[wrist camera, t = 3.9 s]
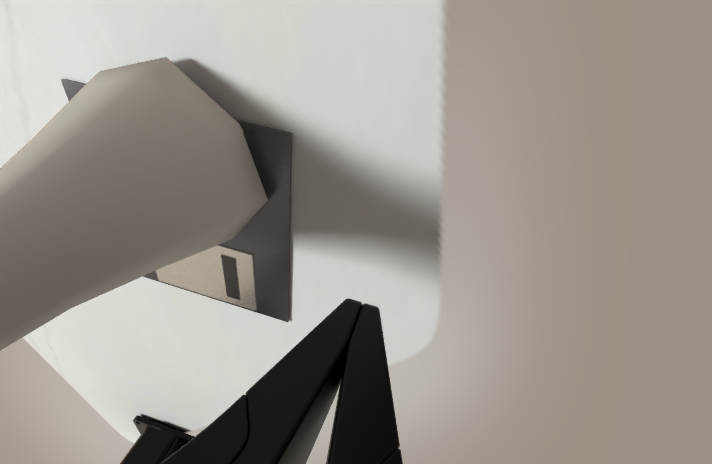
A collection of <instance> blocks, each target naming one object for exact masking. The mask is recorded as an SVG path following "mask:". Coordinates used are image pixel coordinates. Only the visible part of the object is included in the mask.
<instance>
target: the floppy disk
mask: <svg viewBox="0 0 712 464" xmlns="http://www.w3.org/2000/svg"><path fill="white" fill-rule="evenodd" d="M61 81H62V84H63V86H64V89H65V92H66V94H67V97H68V100H69V101H70V100H71V99H72V98H73V97H74V96H75V95H76V94H77V93H78V92H79V91H80V90H81V89H82V88H83V87H84V86H85V85H86V84H82V83H78V82H74V81H70V80H65V79H61ZM236 121H237V122H238V123H239V124H240V126H241V129H242V131H243V134H244V137H245V139H246V142H247V145H248V148H249V150H250V153H251V156H252V158H253V161H254V164H255V167H256V169H257V172H258V175H259V177H260V180H261V183H262V185H263V188H264V191H265V194H266V196H267V199H268V201H267V202H266V203H265V204H264V205H263V206H262V208H261V209H260V210H259V211H258V212H257V213H256V214H255V215H254V216H253V217H252V219H251V220H250V221H249V222H248V223H247V224H246V225H245V226H244V227H243V228H242V230H241V231H240V232H239V233H238V234H237V235H236V236H235V237H234V238H233V239H230V240H228V241H226V242H224V243H221V244H219V245H217V246H214V247H212V248H209V249H207V250H204V251H202V252H199V253H197V254H195V255H192V256H190V257H187V258H185V259H182V260H180V261H177V262H175V263H172V264H170V265H167V266H165V267H162V268H160V269H158V270H155V271H153V272H151V273H149V274H146V275H144V276H143V277H146V278H149V279H153V280H156V281H159V282H162V283H165V284H168V285H172V286H175V287H178V288H181V289H184V290H188V291H191V292H194V293H197V294H200V295H203V296H207V297H210V298H213V299H216V300H219V301H222V302H226V303H229V304H232V305H235V306H238V307H242V308H245V309H248V310H251V311H254V312H257V313H261V314H264V315H267V316H270V317H273V318H276V319H280V320H283V321H286V322H288V321H289V259H290V185H291V133H289V132H284V131H280V130H276V129H272V128H268V127H263V126H259V125H255V124H251V123H247V122H242V121H238V120H236Z"/></svg>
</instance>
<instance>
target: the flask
mask: <svg viewBox="0 0 712 464" xmlns="http://www.w3.org/2000/svg"><path fill="white" fill-rule="evenodd" d="M267 201H268V199H267V196H266V194H265V191H264V188H263V185H262V183H261V180H260V177H259V175H258V172H257V169H256V167H255V164H254V161H253V158H252V156H251V153H250V150H249V148H248V145H247V142H246V139H245V137H244V134H243V131H242V129H241V126H240V124H239V123H238V122H237V121H236V120H235V119H233V118H232V117H231V116H230V115H229V114H228V113H227V112H226V111H225V110H224V109H222V108H221V107H220V106H219V105H218V104H217V103H216V102H215V101H214V100H213V99H212V98H210V97H209V96H208V95H207V94H206V93H205V92H204V91H203V90H202V89H201V88H199V87H198V86H197V85H196V84H195V83H194V82H193V81H192V80H191V79H190V78H189V77H187V76H186V75H185V74H184V73H183V72H182V71H181V70H180V69H179V68H178V67H177V66H175V65H174V64H173V63H172V62H171V61H170V60H169V59H168V58H167V57H165V58H160V59H155V60H151V61H146V62H141V63H137V64H132V65H127V66H122V67H118V68H113V69H108V70H104V71H100V72H99V73H98V74H97V75H96V76H95V77H94V78H93V79H91V80H90V81H89V82H88V83H87V84H86V85H85V86H84V87H83V88H82V89H81V90H80V91H79V92H78V93H77V94H76V95H75V96H74V97H73V98H72V99H71V100H70V101H69V102H68V103H67V104H66V105H65V106H64V107H63V108H62V109H61V110H60V111H59V112H58V113H57V114H56V115H55V116H54V117H53V118H52V119H51V120H50V122H49V123H48V124H47V125H46V126H45V127H44V128H43V129H42V130H41V131H40V132H39V133H38V134H37V135H36V136H35V137H34V138H33V139H32V140H31V141H29V142H28V143H27V144H26V145H25V146H24V147H23V148H22V149H21V150H20V151H19V152H17V153H16V154H15V155H14V156H13V157H12V158H11V159H10V160H9V161H8V162H7V163H6V164H4V165H3V166H2V167H1V168H0V350H2V349H3V348H5V347H7V346H8V345H10V344H12V343H13V342H15V341H17V340H18V339H20V338H22V337H23V336H25V335H27V334H28V333H30V332H32V331H34V330H35V329H37V328H39V327H40V326H42V325H44V324H45V323H47V322H49V321H50V320H52V319H54V318H55V317H57V316H59V315H60V314H62V313H64V312H65V311H67V310H69V309H70V308H72V307H75V306H77V305H79V304H81V303H84V302H86V301H88V300H90V299H93V298H95V297H97V296H99V295H101V294H104V293H106V292H108V291H110V290H113V289H115V288H117V287H119V286H122V285H124V284H126V283H128V282H131V281H133V280H135V279H137V278H140V277H142V276H144V275H146V274H149V273H151V272H153V271H155V270H158V269H160V268H162V267H165V266H167V265H170V264H172V263H175V262H177V261H180V260H182V259H185V258H187V257H190V256H192V255H195V254H197V253H199V252H202V251H204V250H207V249H209V248H212V247H214V246H217V245H219V244H221V243H224V242H226V241H228V240H230V239H233V238H234V237H235V236H236V235H237V234H238V233H239V232H240V231H241V230H242V228H243V227H244V226H245V225H246V224H247V223H248V222H249V221H250V220H251V219H252V217H253V216H254V215H255V214H256V213H257V212H258V211H259V210H260V209H261V208H262V206H263V205H264V204H265V203H266V202H267Z"/></svg>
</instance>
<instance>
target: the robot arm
mask: <svg viewBox="0 0 712 464" xmlns="http://www.w3.org/2000/svg"><path fill="white" fill-rule="evenodd" d="M340 383H341V384H340ZM339 386H340V389H339V394H338V400H337V406H336V411H335V417H334V423H333V428H332V434H331V439H330V444H329V450H328V456H327V462H326V464H403V463H402V457H401V451H400V449H398V448H399V446H400V444H399V438H398V431H397V425H396V418H395V411H394V404H393V398H392V391H391V385H390V378H389V371H388V365H387V358H386V351H385V345H384V338H383V331H382V325H381V318H380V311H379V308H378V307H376V306H373V305H369V304H363V305H362V303H361V302H359V301H356V300H352V299H346V300H345V301H343V302H342V303H341V304H340V305H339V306H338V307H337V308H336V309H335V310H334V311H333V312H332V313H331V314H329V315H328V316H327V317H326V318H325V319H324V320H323V321H322V322H321V323H320V324H319V325H318V326H317V327H316V328H314V329H313V330H312V331H311V332H310V333H309V334H308V335H307V336H306V337H305V338H304V339H303V340H302V341H301V342H299V343H298V344H297V345H296V346H295V347H294V348H293V349H292V350H291V351H290V352H289V353H288V354H287V355H286V356H284V357H283V358H282V359H281V360H280V361H279V362H278V363H277V364H276V365H275V366H274V367H273V368H272V369H270V370H269V371H268V372H267V373H266V374H265V375H264V376H263V377H262V378H261V379H260V380H259V381H258V382H257V383H255V384H254V385H253V386H252V387H251V388H250V389H249V390H248V391H247V392H246V395H242V396H241V397H240V398H239V399H238V400H237V401H236V402H235V403H234V404H233V405H232V406H231V407H230V408H228V409H227V410H226V411H225V412H224V413H223V414H222V415H220V416H219V417H218V418H217V419H216V420H215V421H214V422H213V423H211V424H210V425H209V426H208V427H207V428H205V430H203V431H202V432H200V433H199V434H198V435H197V436H196V437H194V436H191V435H188V434H186V433H183V432H181V431H178V430H175V429H173V428H170V427H167V426H165V425H162V424H159V423H157V422H154V421H151V420H149V419H146V418H143V417H141V416H136V417H135V418H134V420H133V422H134V423H135V425H136V427H137V429H138V430H139V432H140V434H141V436H140V437H139V438H138V440H137V441H136V443H135V444H134V446H133V447H132V448H131V449H130V451H129V452H128V454H127V455H126V456H125V458H124V459H123V460H122V462H121V463H120V464H306V461H307V459H308V457H309V455H310V452H311V450H312V448H313V446H314V443H315V441H316V439H317V437H318V434H319V432H320V430H321V428H322V425H323V423H324V421H325V418H326V416H327V414H328V412H329V409H330V407H331V405H332V403H333V400H334V398H335V396H336V393H337V391H338V388H339Z"/></svg>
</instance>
